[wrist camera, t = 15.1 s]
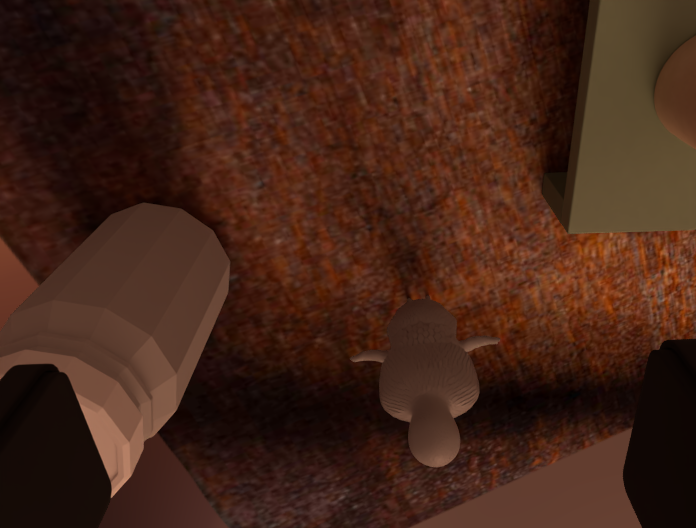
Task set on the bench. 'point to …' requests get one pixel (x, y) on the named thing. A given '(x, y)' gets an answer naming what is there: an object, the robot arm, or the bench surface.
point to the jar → (125, 324)
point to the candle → (678, 93)
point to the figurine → (427, 377)
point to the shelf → (626, 126)
